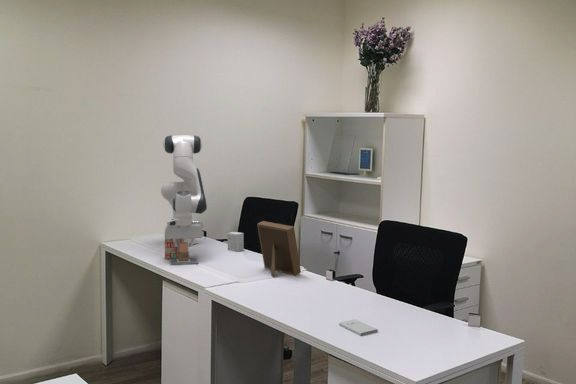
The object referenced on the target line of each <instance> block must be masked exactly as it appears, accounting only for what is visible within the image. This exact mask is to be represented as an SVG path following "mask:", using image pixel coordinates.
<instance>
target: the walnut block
mask: <svg viewBox="0 0 576 384" xmlns="http://www.w3.org/2000/svg"><path fill="white" fill-rule="evenodd" d="M189 255H190V253H189V251H188V252H179V256H178V258H179V262H182V261H189Z"/></svg>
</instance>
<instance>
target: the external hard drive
mask: <svg viewBox="0 0 576 384" xmlns="http://www.w3.org/2000/svg"><path fill="white" fill-rule="evenodd" d="M338 326H340V327H341V328H344V329H345V330H347V331H349V332H352V333H354V334H355V335H357V336H359V337H363V336H366V335H370V334H374V333H378V332H379V329H378V328H375V327H373V326H372V325H369V324H366V323H364V322H363V321H360V320H357V319H350V320H346V321H342V322H339V323H338Z"/></svg>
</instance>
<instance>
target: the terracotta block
mask: <svg viewBox="0 0 576 384" xmlns="http://www.w3.org/2000/svg"><path fill="white" fill-rule="evenodd" d="M179 252H189V245H188V242H179Z"/></svg>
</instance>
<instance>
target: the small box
mask: <svg viewBox="0 0 576 384" xmlns="http://www.w3.org/2000/svg"><path fill="white" fill-rule="evenodd" d="M244 235H245V234H244V232H239V231H238V232H237V231H231V232H227V251H230V252H241V251H244V247H245V246H244V245H245V244H244V240H245V239H244V238H245V237H244Z"/></svg>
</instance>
